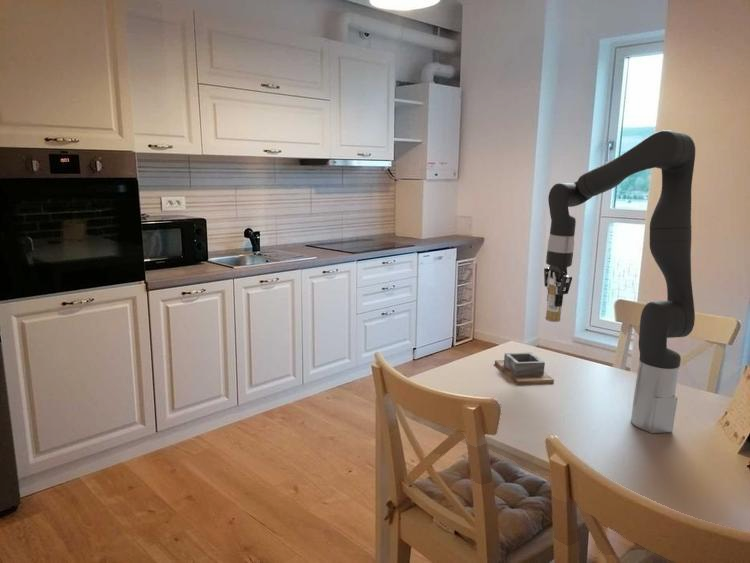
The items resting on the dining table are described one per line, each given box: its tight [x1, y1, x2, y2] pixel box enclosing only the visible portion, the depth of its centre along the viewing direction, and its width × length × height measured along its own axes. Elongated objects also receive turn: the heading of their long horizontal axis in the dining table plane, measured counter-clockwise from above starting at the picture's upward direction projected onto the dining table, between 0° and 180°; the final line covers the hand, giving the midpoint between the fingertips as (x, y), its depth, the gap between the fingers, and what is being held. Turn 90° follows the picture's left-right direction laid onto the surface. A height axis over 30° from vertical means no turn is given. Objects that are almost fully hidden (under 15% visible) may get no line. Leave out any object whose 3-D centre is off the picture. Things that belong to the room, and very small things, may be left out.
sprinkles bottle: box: [545, 278, 563, 323], centre depth 168 cm, size 5×5×13 cm
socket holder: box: [494, 352, 555, 386], centre depth 175 cm, size 18×12×5 cm, turn 10°
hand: (554, 303), depth 168 cm, fingers closed on sprinkles bottle, 4 cm apart
